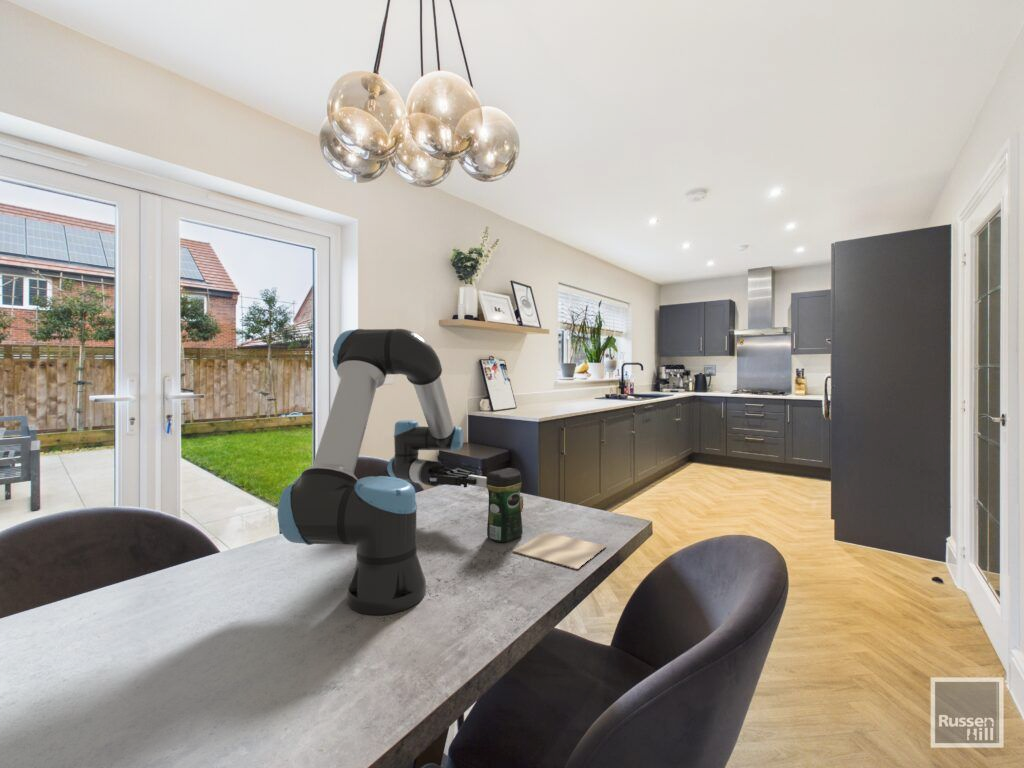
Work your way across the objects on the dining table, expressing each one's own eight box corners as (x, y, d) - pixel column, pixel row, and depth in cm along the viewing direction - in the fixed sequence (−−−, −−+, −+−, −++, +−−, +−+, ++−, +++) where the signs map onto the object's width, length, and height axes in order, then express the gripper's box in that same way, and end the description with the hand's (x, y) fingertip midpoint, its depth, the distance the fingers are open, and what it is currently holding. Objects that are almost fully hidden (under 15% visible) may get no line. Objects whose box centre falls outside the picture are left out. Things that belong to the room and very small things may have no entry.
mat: (512, 552, 111) (512, 550, 111) (545, 533, 124) (545, 531, 124) (577, 570, 101) (577, 568, 101) (606, 547, 114) (606, 545, 114)
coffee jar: (506, 529, 128) (506, 464, 128) (527, 535, 123) (526, 468, 122) (481, 538, 121) (481, 470, 121) (502, 545, 116) (501, 474, 115)
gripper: (442, 480, 145) (501, 490, 131) (412, 489, 134) (472, 501, 121) (442, 457, 145) (500, 465, 131) (411, 464, 134) (472, 473, 120)
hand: (487, 482), depth 126 cm, fingers closed
